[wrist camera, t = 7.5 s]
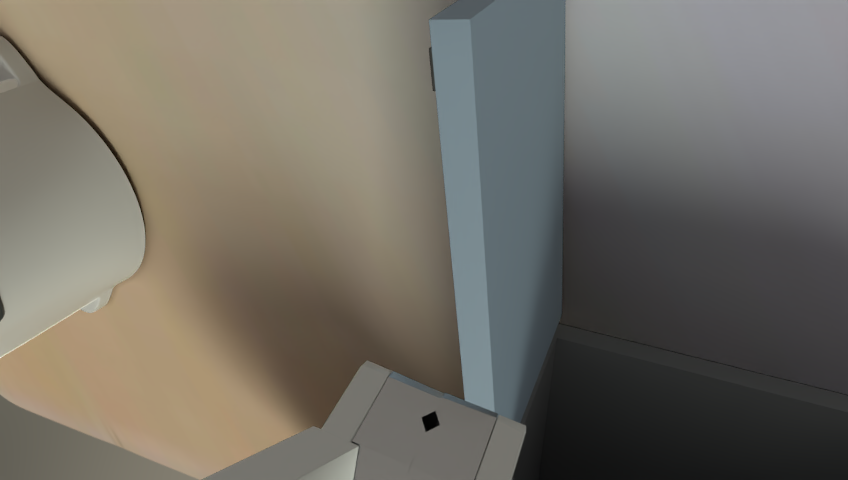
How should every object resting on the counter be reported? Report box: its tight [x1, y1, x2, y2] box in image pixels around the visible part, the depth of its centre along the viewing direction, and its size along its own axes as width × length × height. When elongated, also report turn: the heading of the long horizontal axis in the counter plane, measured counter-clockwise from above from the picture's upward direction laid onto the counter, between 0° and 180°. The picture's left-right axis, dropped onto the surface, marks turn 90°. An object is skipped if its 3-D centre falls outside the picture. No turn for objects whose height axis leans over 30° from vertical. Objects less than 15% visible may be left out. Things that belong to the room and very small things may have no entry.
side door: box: [429, 0, 565, 423], centre depth 23 cm, size 16×2×10 cm, turn 7°
